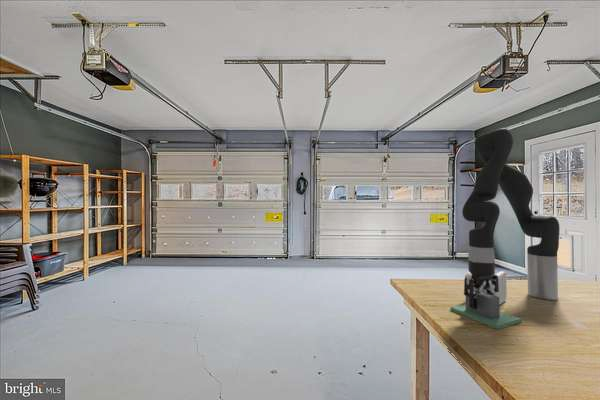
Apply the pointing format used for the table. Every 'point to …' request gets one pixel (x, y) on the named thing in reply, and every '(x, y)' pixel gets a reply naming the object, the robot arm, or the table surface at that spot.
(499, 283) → the white socket shroud
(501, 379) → the table surface
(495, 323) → the board
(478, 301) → the block
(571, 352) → the table surface
